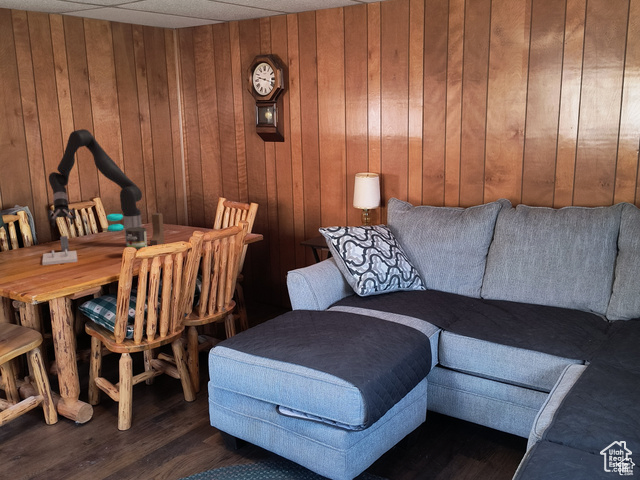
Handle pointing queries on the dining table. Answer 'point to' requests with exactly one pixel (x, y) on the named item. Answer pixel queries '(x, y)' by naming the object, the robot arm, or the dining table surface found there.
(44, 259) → the grey peg board
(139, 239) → the coffee can
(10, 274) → the dining table surface
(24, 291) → the dining table surface
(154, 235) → the wooden block
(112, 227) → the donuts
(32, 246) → the dining table surface
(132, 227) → the robot arm
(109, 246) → the dining table surface
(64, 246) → the block
